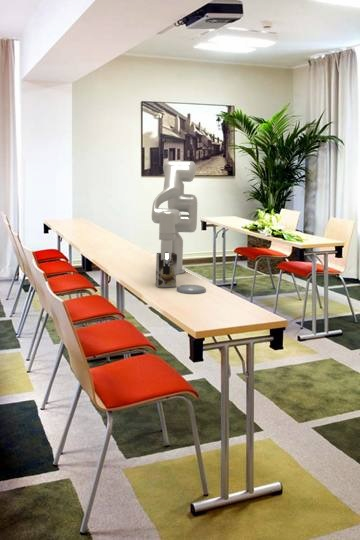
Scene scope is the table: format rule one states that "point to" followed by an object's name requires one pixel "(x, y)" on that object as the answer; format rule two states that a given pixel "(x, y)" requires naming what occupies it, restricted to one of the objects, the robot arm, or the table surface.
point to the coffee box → (166, 279)
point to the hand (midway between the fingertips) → (166, 272)
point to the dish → (191, 289)
